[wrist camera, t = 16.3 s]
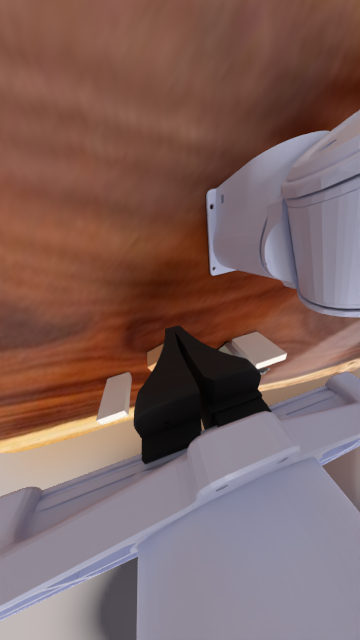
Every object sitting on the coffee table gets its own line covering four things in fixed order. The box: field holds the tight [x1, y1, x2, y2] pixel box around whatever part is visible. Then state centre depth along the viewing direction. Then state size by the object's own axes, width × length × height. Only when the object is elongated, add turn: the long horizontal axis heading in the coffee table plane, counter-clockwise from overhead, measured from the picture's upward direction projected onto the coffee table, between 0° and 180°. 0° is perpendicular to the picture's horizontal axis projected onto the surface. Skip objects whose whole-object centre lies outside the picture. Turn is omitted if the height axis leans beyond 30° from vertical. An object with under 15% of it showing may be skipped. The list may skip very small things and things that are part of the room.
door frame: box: [96, 332, 287, 425], centre depth 24 cm, size 2×32×7 cm, turn 100°
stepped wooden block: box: [147, 343, 164, 371], centre depth 25 cm, size 10×4×4 cm, turn 26°
